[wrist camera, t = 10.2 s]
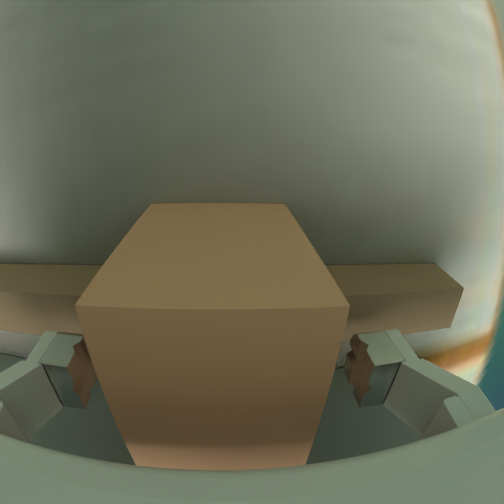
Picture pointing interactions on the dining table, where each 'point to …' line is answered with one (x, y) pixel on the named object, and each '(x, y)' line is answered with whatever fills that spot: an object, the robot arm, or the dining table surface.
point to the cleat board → (341, 392)
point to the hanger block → (215, 336)
